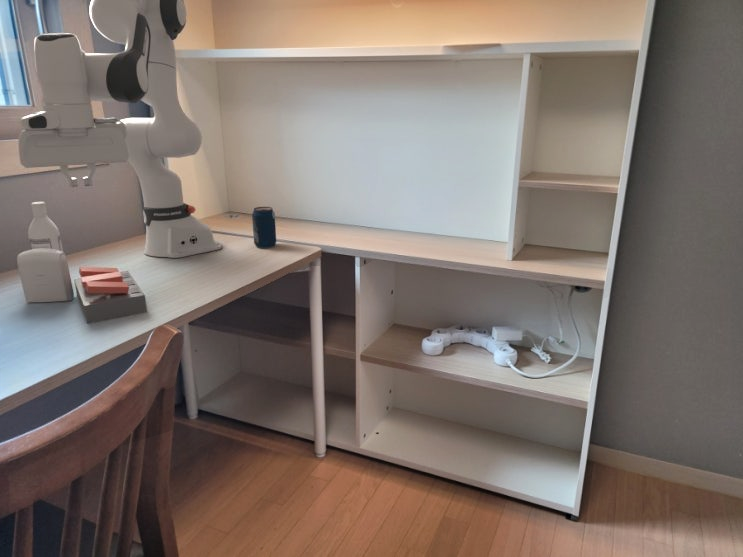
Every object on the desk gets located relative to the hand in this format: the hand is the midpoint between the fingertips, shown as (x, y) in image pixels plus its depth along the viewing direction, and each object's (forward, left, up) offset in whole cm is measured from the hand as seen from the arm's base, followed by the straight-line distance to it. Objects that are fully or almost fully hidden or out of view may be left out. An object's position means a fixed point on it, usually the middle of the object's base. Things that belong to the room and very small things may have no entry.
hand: (81, 186), depth 116 cm
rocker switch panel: (-2, 0, -27) cm, 27 cm away
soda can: (-51, -27, -27) cm, 64 cm away
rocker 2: (-1, 0, -22) cm, 23 cm away
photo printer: (+10, -9, -27) cm, 31 cm away
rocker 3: (-1, +6, -22) cm, 23 cm away
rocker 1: (-1, -6, -22) cm, 23 cm away
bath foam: (+8, -26, -27) cm, 39 cm away
